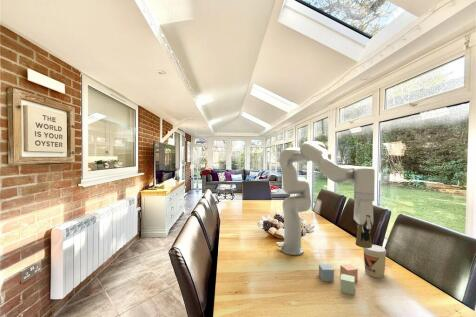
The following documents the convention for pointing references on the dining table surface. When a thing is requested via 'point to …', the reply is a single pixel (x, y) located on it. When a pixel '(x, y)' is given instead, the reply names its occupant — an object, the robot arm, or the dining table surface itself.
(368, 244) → the cork
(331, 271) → the slate cube
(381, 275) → the coffee cup
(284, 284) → the dining table surface
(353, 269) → the terracotta cube
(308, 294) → the dining table surface
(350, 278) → the sage cube
